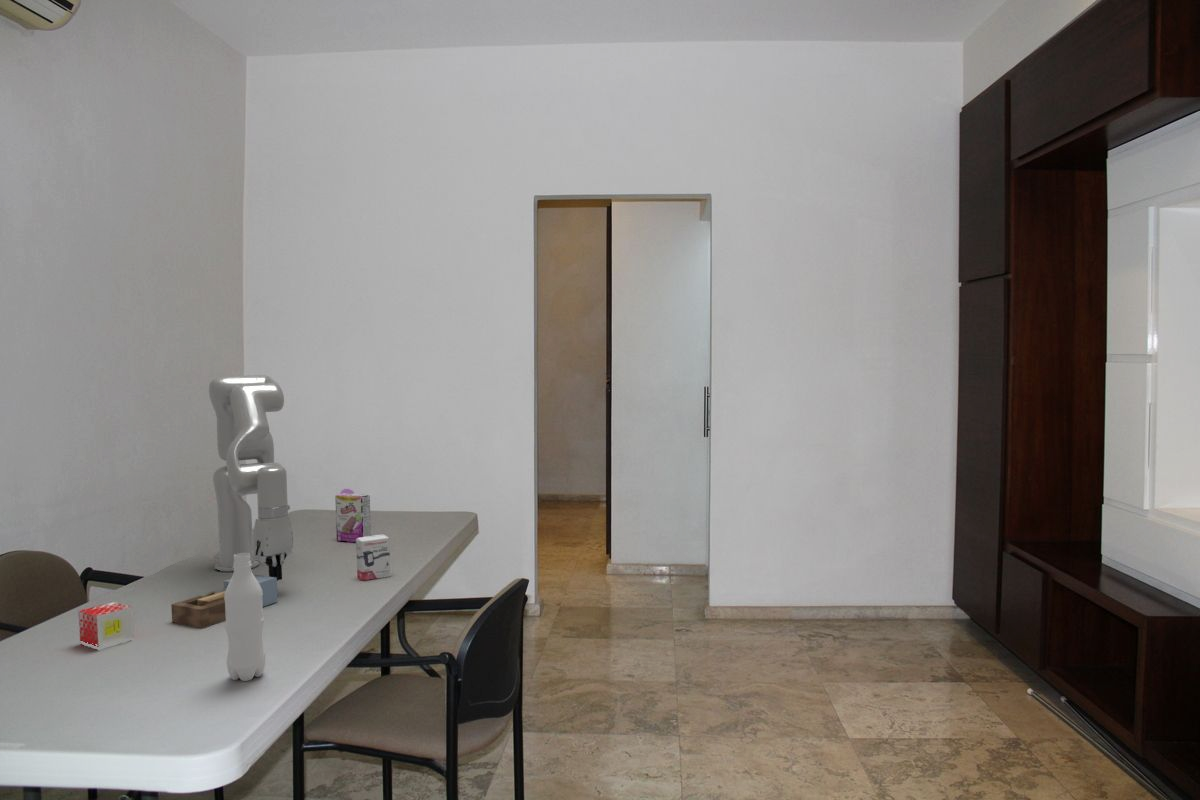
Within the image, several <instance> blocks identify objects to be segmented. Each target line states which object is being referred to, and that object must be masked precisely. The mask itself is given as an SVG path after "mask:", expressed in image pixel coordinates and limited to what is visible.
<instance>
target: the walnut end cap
mask: <svg viewBox="0 0 1200 800" xmlns="http://www.w3.org/2000/svg"><path fill="white" fill-rule="evenodd" d="M214 594H216V592H215V591H210V592H208V593H207V594H205V595H204V596H202V595H197V596H195V597H191V598H188V599H185V600H182V601H181V600H180V601H178V602H175V603H171V605H170V606H171V622H172V623H173V622H175V623H174V624H178V623H179V625H185V626H188V625H189V626H188V627H193V626H195V628H198V627H200V628H199V629H205V628H207V626H208V627H211V626H213V625H216V624H219V623H222V622H226V613H225V600H220V601H217V602H214V603H211V604H208V605H204V606H198V605H197V600H198V599H201V598H204V597H208V596H211V595H214ZM218 622H219V623H218ZM215 623H216V624H215ZM204 627H205V628H204Z"/></svg>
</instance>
